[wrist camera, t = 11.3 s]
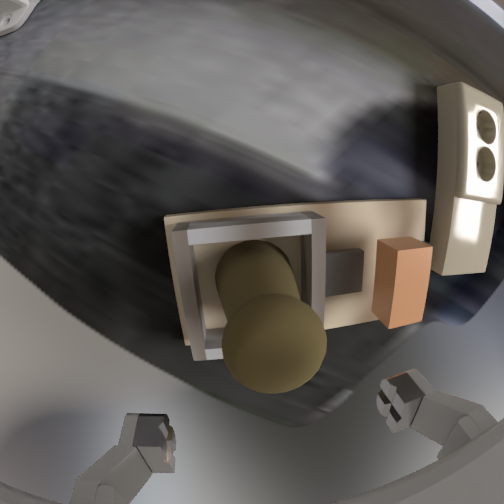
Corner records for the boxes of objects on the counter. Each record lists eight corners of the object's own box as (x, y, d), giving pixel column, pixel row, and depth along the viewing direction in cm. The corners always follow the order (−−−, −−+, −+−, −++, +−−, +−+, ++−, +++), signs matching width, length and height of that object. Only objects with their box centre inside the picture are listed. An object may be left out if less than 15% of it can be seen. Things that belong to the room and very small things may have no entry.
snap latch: (371, 311, 23) (388, 329, 20) (377, 239, 21) (398, 250, 18) (402, 304, 23) (421, 320, 20) (410, 236, 21) (433, 246, 18)
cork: (232, 227, 22) (243, 287, 11) (304, 256, 23) (367, 327, 13) (203, 298, 23) (195, 395, 13) (273, 320, 24) (306, 418, 14)
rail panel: (186, 339, 25) (182, 366, 21) (166, 214, 22) (155, 225, 18) (409, 307, 27) (431, 325, 23) (420, 198, 24) (447, 205, 20)
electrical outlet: (447, 279, 22) (460, 79, 17) (423, 264, 26) (434, 86, 21) (490, 275, 23) (504, 102, 18) (467, 262, 27) (478, 104, 22)
